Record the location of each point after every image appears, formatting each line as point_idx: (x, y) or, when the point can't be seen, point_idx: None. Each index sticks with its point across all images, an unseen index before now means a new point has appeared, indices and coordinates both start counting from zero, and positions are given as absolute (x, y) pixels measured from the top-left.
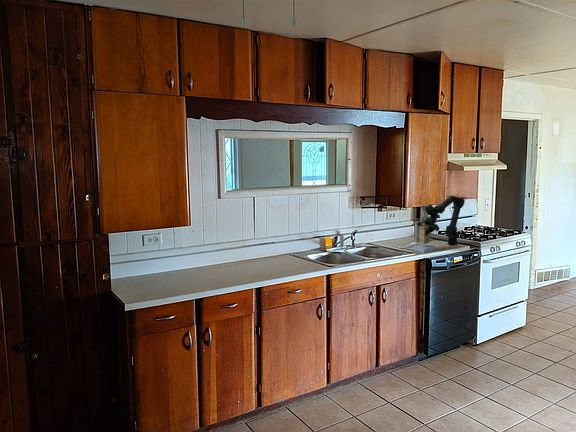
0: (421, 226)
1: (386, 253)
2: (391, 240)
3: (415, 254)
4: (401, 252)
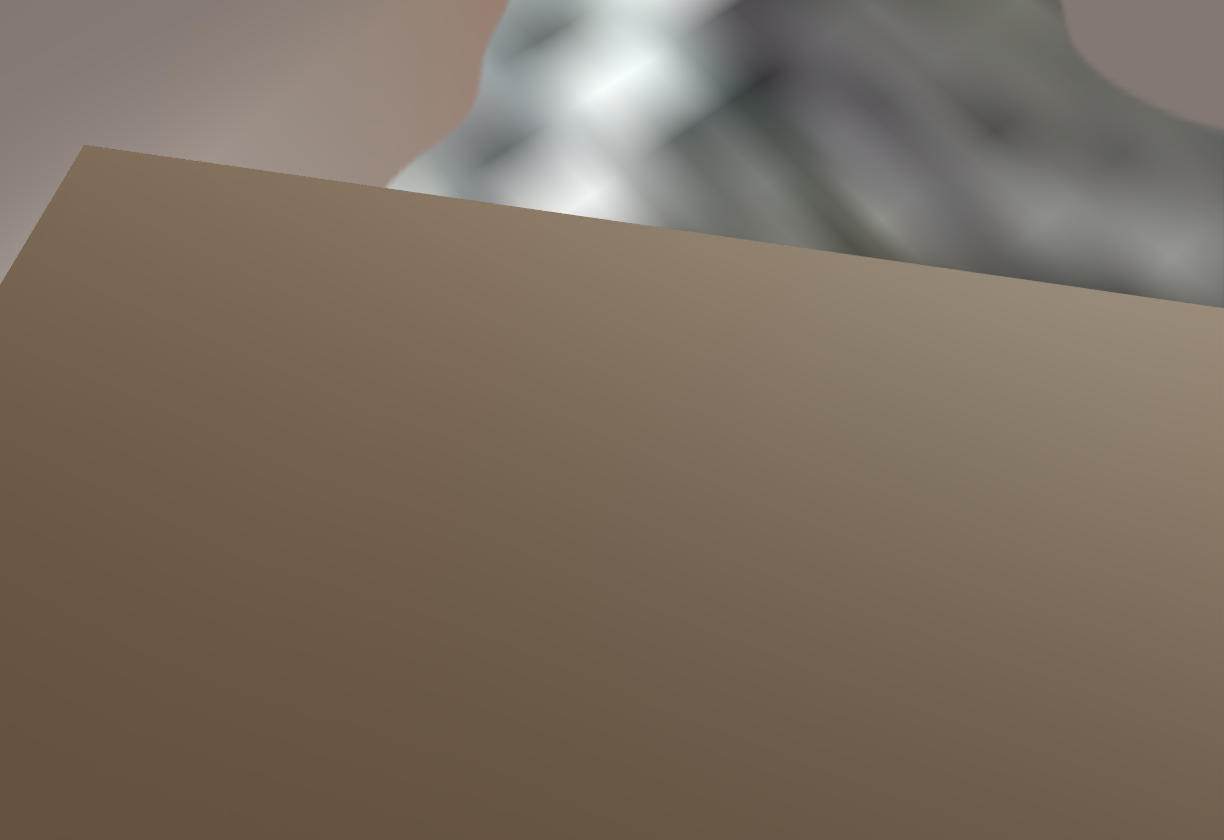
0: (1097, 547)
1: (991, 12)
2: None
3: None
4: (856, 227)
